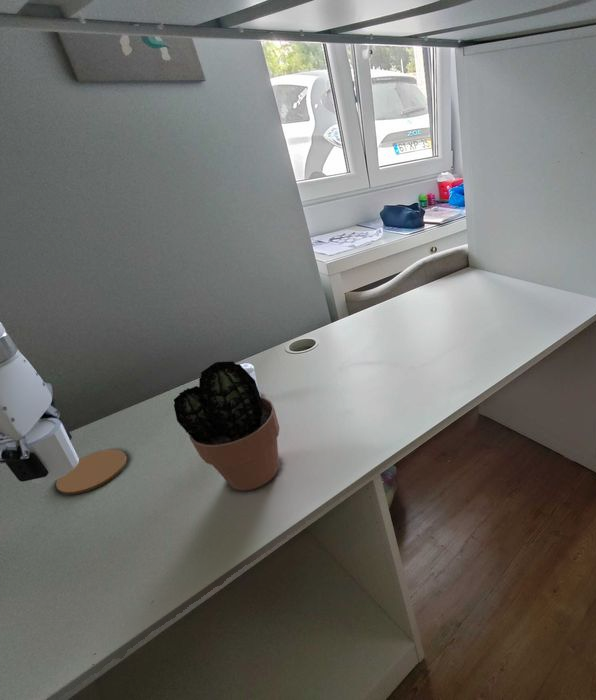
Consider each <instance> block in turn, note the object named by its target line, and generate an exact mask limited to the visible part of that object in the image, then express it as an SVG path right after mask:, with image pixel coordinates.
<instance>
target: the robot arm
mask: <svg viewBox="0 0 596 700" xmlns="http://www.w3.org/2000/svg"><path fill="white" fill-rule="evenodd" d="M53 391H54V390H53V385H52V383H50V382H44V380H43V378H42V377H41V376H40V375H39V373H38V372H37V370H36V369H35V368H34V366H33V365H32V364H31V363H30V362H29V360H28V359H27V358H26V357H25V356H24V355H23V354H22V353H21V351H20V350H19V349H18V347H17V345H16V344H15V342H14V340H13V339H12V337H11V336H10V334H9V333H8V331H7V329H5V326H4V325H3V323H2V322H1V321H0V464H1V465H2V464H5V465H6V466H7V467H8V469H9V470H10V471H11V472H12V474H13V475H14V476H15V478H16V479H17V480H18V481H19V482H23V483H24V482H28V481H31V480H33V479H38V478H42V477H46V476H47V475H48V473H49V472H48V470H47V469H46V468H45V466H44V465H43V463H42V462H41V461H40V459H39V458H38V456H37V455H36V454H35V453H29V449H28V445H27V441H26V437H25V435H26V434H27V433H28V432H29V431H30V430H31V429H32V427H33V426H34V425H35V424H36V423H37V421H38V420H39V419H44V418H56V419H59V420H60V421H61V422H62V425H63V427H64V429H65V431H66V433H67V435H68V437H69V439H70V441H71V440H72V438H73V435H72V434H71V433H70V432H69V429H68V428H67V427H66V425H65V423H64V422H63V420H62V419H61V417H60V416H61V413H60V411H59V409H57V408H56V399H55V397H54V393H53ZM5 435H6V436H8V435H10V436H11V437H8V438H3V437H4V436H5ZM10 442H15V444H16V448H17V450H8V449H7V445H6V443H10Z"/></svg>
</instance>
